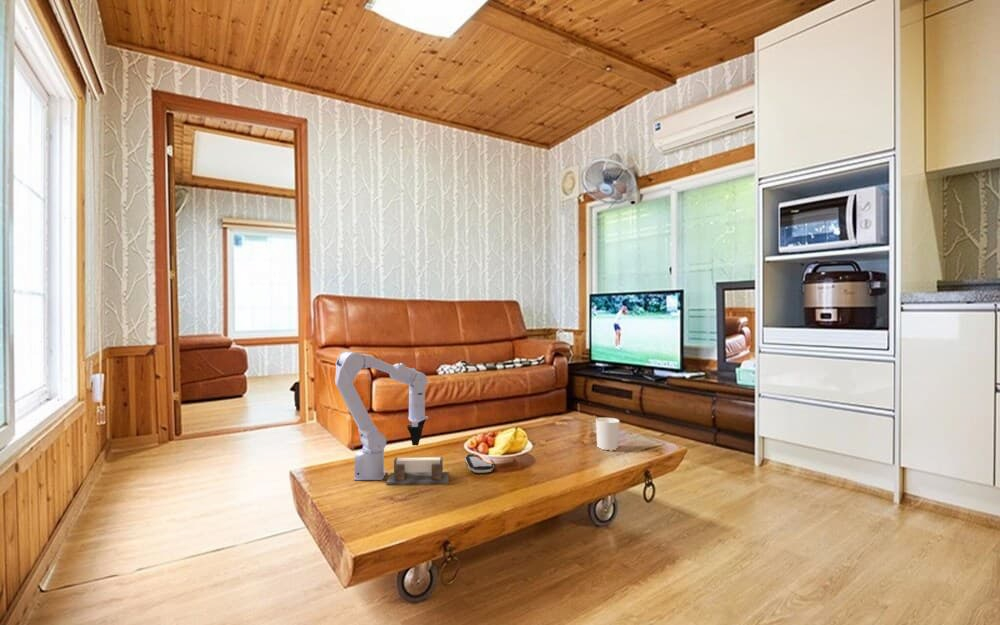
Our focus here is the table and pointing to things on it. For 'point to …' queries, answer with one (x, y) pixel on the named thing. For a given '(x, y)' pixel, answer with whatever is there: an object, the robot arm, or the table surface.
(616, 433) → the white cylinder
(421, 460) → the rail
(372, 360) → the robot arm
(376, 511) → the table surface
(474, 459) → the gaming console
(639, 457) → the table surface
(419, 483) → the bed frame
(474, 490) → the table surface
